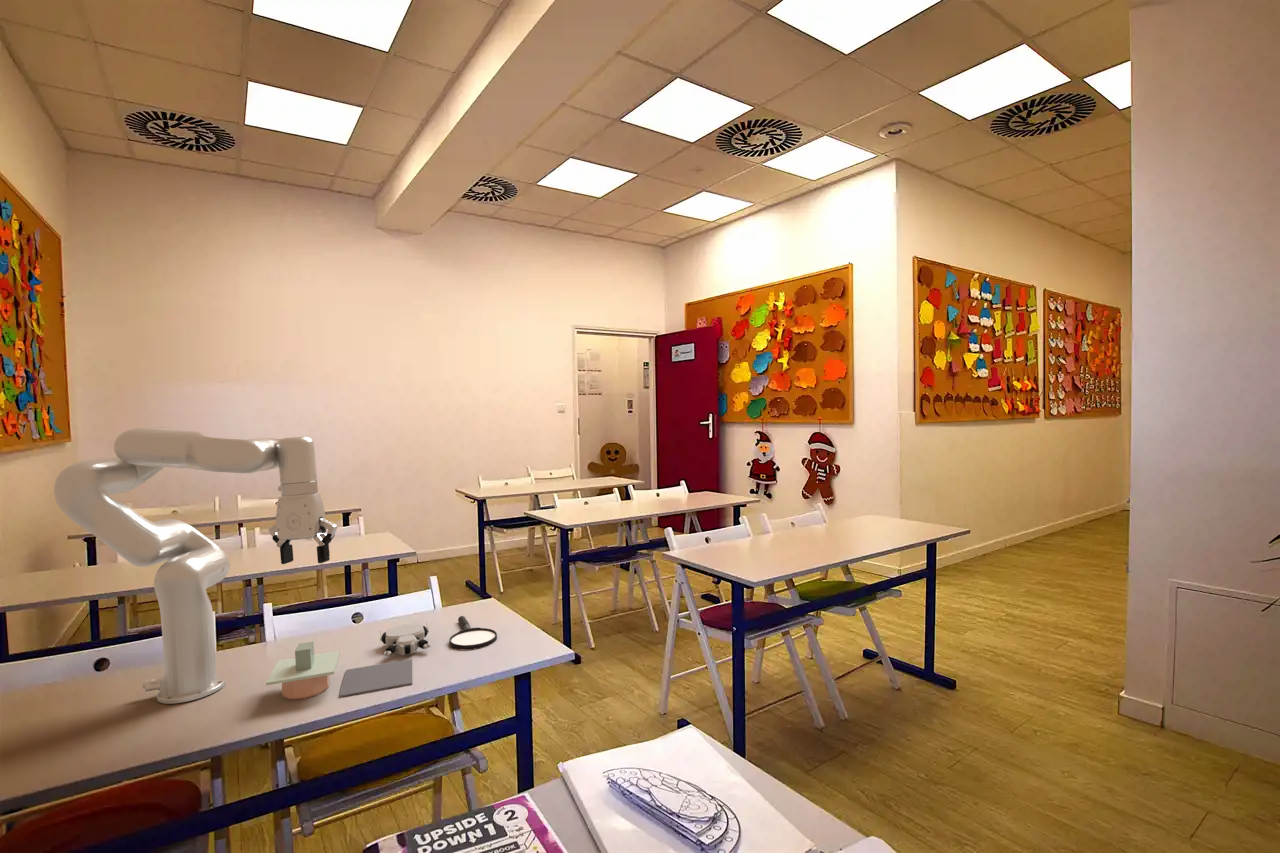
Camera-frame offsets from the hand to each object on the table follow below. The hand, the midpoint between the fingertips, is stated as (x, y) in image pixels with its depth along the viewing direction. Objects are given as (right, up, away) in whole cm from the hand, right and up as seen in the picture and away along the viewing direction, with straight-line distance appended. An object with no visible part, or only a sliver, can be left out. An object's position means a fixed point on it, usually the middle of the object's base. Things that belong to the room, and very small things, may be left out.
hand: (305, 562), depth 143 cm
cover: (+2, -23, -4) cm, 24 cm away
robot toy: (+16, -28, +19) cm, 37 cm away
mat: (+17, -28, +1) cm, 32 cm away
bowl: (+3, -28, -4) cm, 29 cm away
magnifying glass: (+31, -27, +28) cm, 49 cm away
